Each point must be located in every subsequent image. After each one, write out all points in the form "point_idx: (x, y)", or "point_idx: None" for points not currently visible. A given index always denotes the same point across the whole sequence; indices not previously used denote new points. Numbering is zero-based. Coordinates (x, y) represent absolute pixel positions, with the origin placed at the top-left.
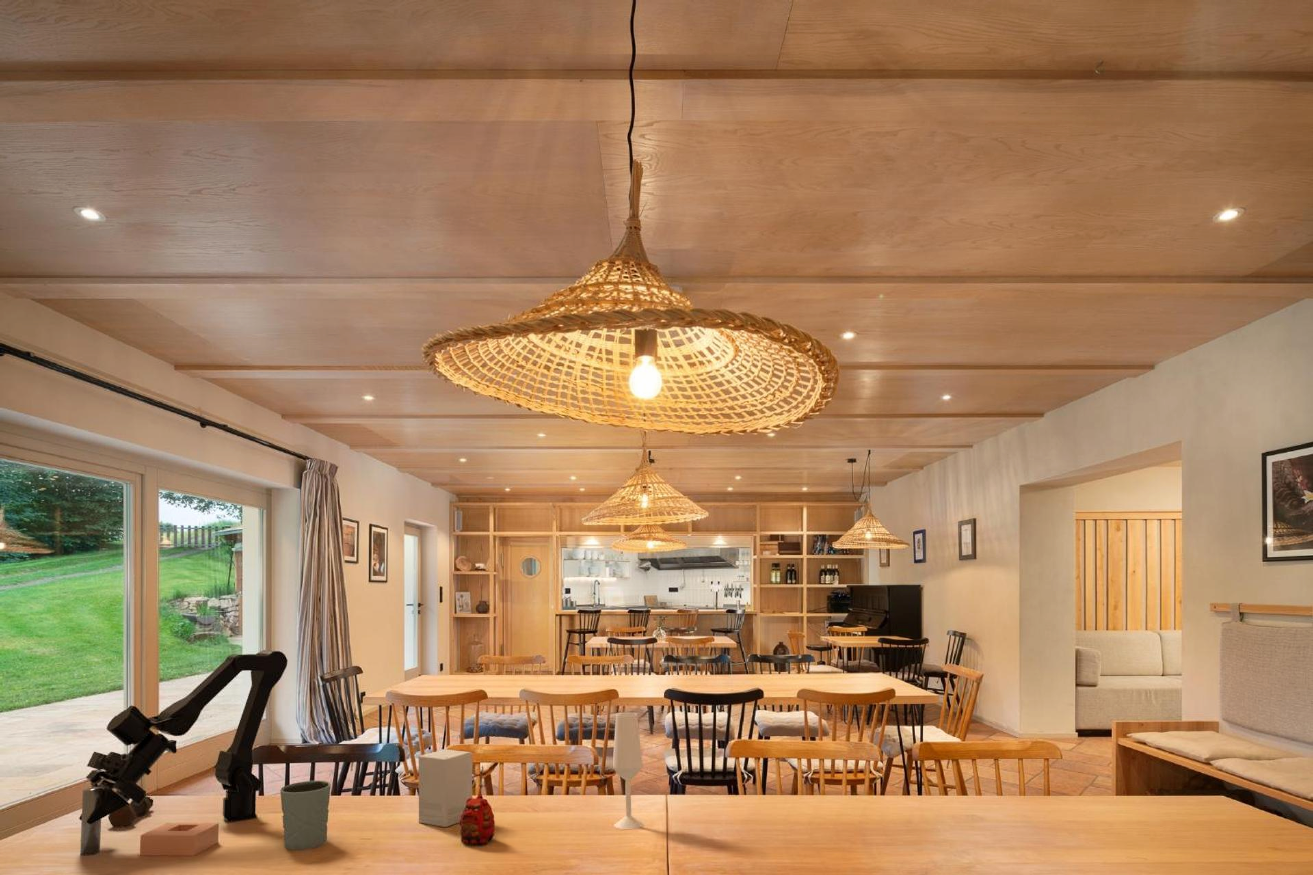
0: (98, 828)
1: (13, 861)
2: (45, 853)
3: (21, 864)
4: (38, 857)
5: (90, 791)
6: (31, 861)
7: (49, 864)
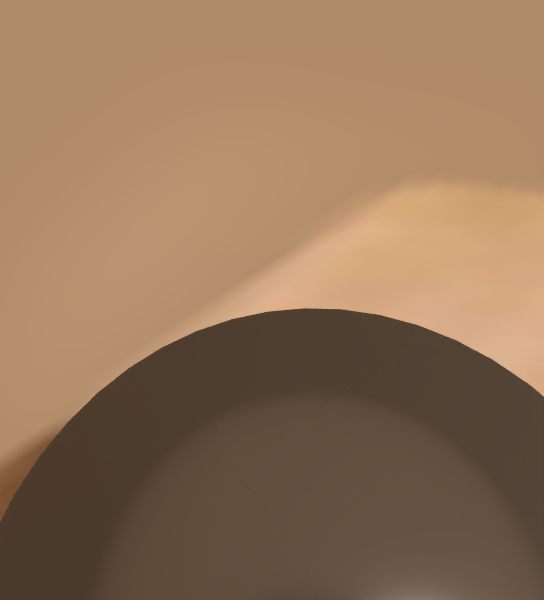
0: None
1: (480, 194)
2: (539, 345)
3: (379, 211)
4: (466, 297)
5: (41, 463)
6: (401, 254)
7: (249, 306)
